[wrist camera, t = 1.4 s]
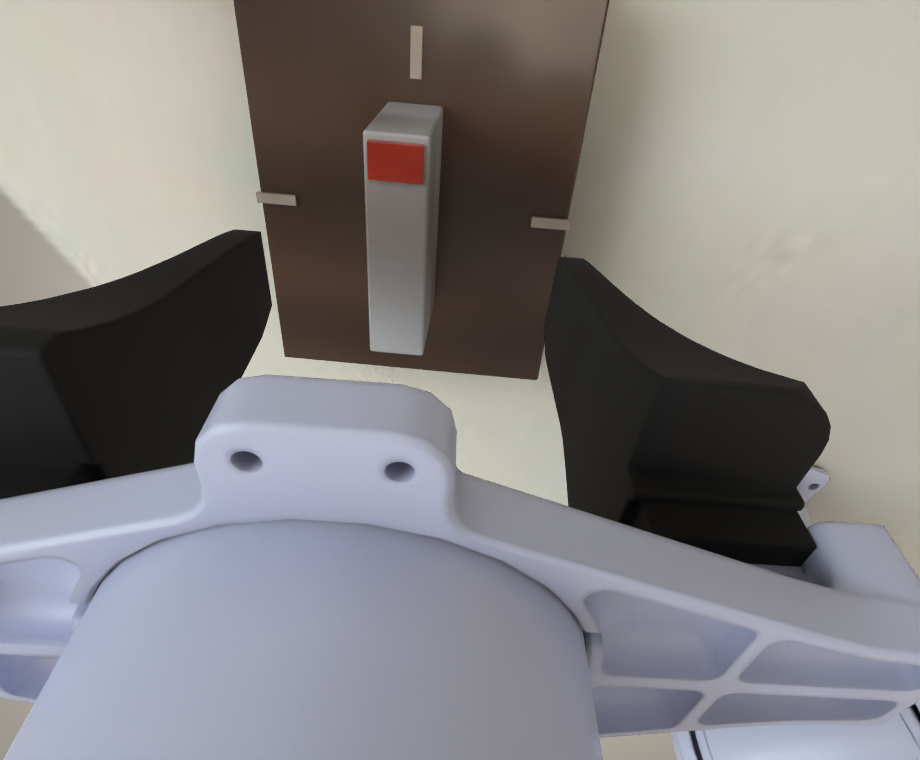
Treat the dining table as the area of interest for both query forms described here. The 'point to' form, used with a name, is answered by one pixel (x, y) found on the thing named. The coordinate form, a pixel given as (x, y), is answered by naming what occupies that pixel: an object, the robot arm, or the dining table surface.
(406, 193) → the tap handle
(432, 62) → the block
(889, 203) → the dining table surface
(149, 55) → the dining table surface
